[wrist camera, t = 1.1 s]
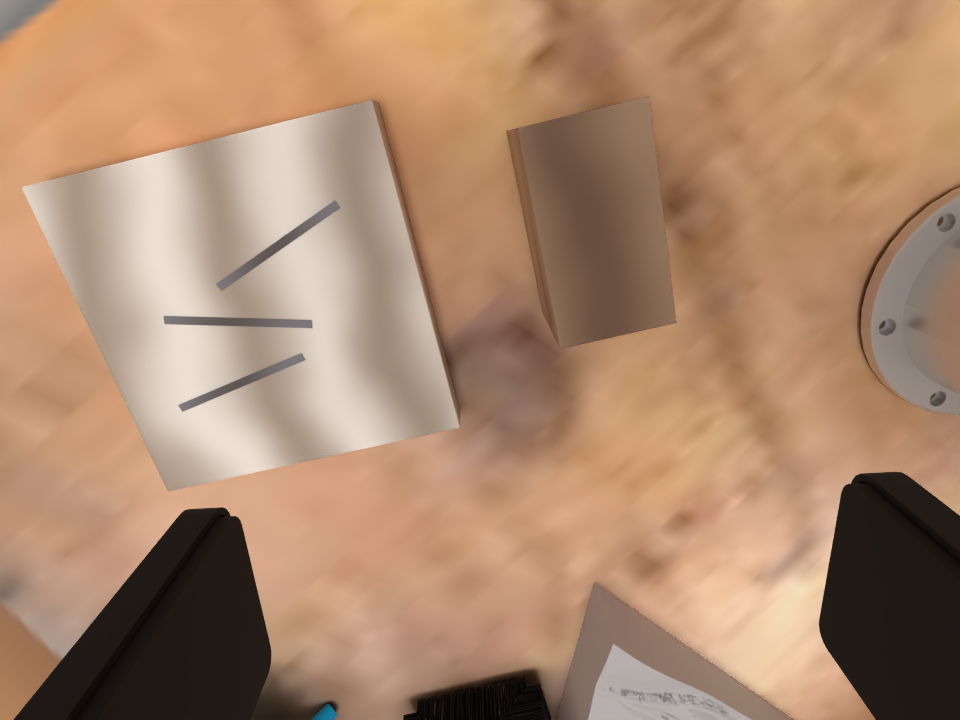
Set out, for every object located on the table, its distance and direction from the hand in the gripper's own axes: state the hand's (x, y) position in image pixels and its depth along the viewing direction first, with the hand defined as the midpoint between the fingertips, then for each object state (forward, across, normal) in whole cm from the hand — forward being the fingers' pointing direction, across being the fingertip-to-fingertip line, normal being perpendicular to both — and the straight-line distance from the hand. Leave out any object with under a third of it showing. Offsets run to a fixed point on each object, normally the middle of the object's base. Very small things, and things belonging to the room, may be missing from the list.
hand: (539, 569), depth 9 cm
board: (+22, +12, +1) cm, 25 cm away
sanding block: (+22, -4, -3) cm, 23 cm away
